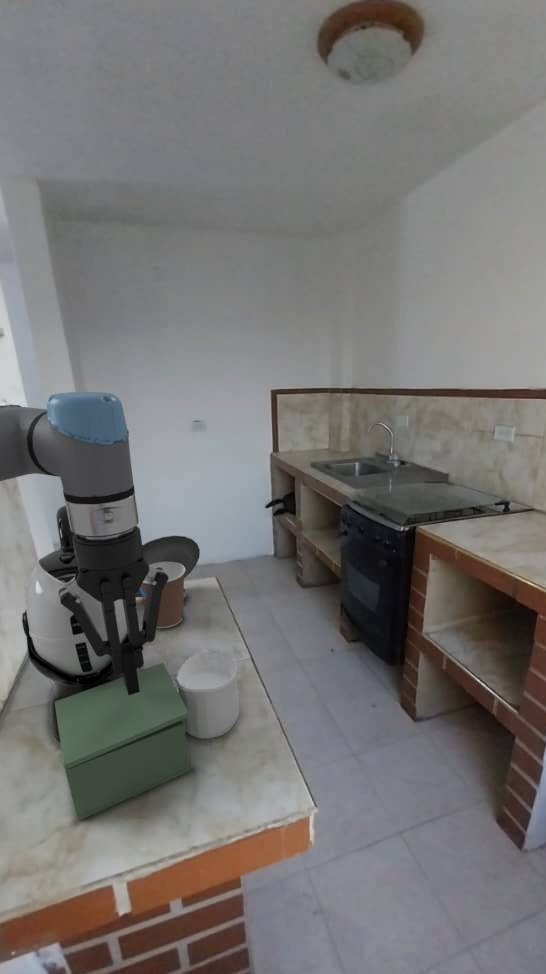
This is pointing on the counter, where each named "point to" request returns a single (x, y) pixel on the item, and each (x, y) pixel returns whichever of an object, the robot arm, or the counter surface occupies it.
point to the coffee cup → (169, 594)
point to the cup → (209, 693)
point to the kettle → (65, 625)
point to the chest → (128, 770)
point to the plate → (172, 552)
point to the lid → (116, 715)
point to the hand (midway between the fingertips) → (132, 687)
